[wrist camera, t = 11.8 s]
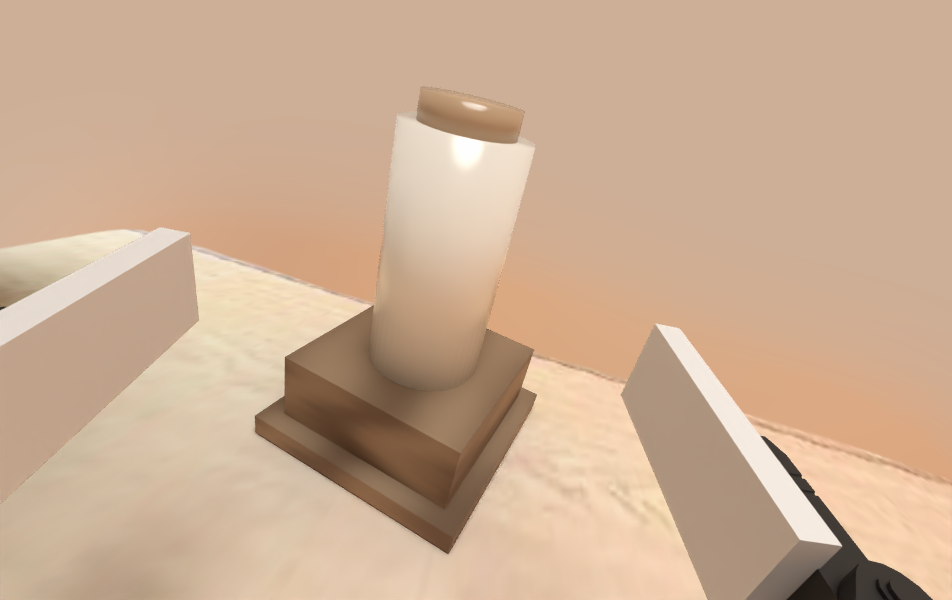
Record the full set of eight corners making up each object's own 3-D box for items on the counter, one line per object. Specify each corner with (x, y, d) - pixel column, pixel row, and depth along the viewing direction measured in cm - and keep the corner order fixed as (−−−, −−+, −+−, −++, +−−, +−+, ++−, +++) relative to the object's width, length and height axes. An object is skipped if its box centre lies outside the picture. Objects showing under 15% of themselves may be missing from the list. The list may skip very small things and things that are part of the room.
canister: (344, 357, 23) (369, 78, 17) (406, 312, 28) (443, 85, 22) (446, 407, 21) (516, 119, 15) (492, 350, 26) (558, 117, 20)
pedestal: (255, 432, 24) (253, 357, 21) (387, 337, 34) (396, 280, 31) (448, 553, 20) (471, 481, 18) (532, 407, 30) (553, 349, 28)
